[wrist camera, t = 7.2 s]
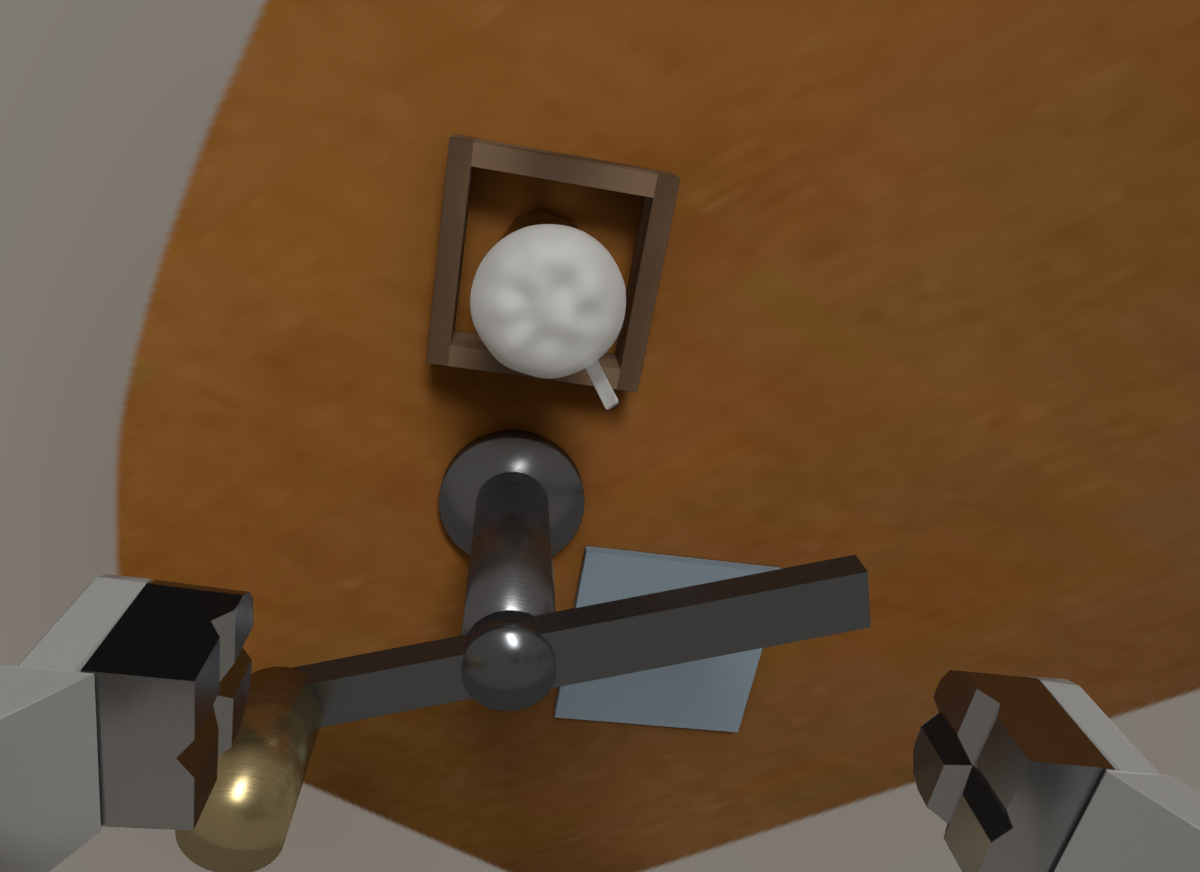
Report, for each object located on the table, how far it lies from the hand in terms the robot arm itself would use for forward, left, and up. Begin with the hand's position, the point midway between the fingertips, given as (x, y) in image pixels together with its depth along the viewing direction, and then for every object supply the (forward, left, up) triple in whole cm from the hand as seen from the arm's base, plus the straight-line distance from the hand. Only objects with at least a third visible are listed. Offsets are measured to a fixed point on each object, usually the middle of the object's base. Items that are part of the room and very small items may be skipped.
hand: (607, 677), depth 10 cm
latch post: (0, +10, -25) cm, 27 cm away
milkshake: (0, 0, -25) cm, 25 cm away
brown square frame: (0, 0, -25) cm, 25 cm away
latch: (-1, +9, -14) cm, 17 cm away
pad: (-8, +16, -25) cm, 31 cm away
